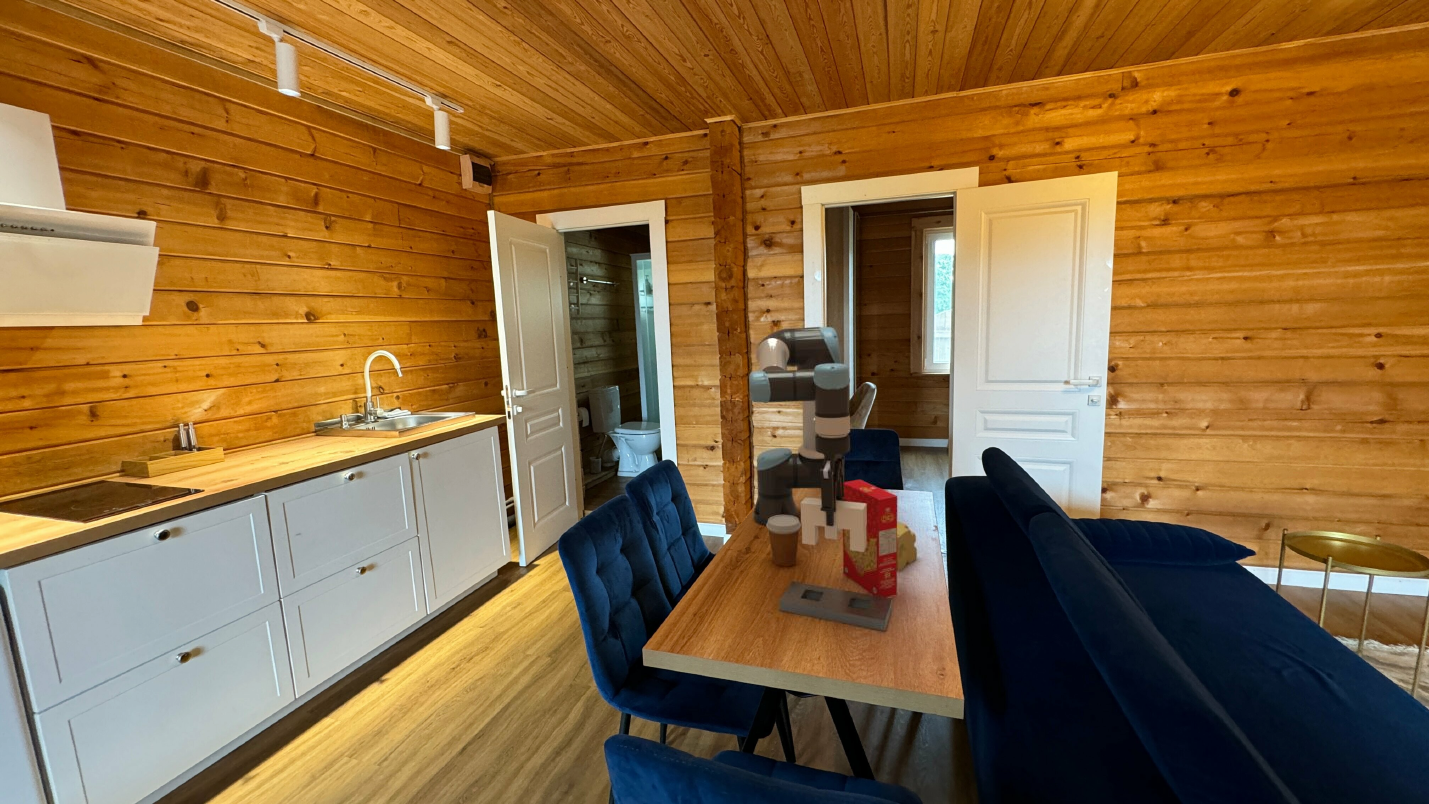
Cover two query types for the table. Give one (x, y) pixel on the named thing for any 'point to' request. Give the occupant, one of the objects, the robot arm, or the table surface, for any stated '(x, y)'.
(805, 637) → the table surface
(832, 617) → the grey flat rectangular block
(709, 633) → the table surface
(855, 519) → the white block
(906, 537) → the cheese
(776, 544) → the disposable coffee cup
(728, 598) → the table surface
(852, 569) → the food packaging
